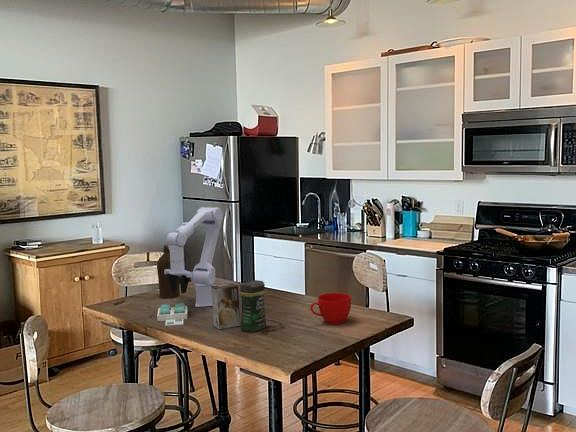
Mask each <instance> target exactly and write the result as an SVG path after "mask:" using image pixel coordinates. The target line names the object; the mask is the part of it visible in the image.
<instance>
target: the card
mask: <svg viewBox="0 0 576 432" xmlns="http://www.w3.org/2000/svg"><path fill="white" fill-rule="evenodd" d="M181 325H183V326H184V319H175V320H166V321H165V325H164V326H165V327H169V326H181Z"/></svg>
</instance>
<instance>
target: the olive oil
mask: <svg viewBox="0 0 576 432" xmlns="http://www.w3.org/2000/svg"><path fill="white" fill-rule="evenodd" d="M166 269H171V264H170V250H169V249H168V245H167V243H166V244H163V253H162V255H161V256H160V257H159V258H158V260H157V262H156V273H157V280H158V281H157V282H158V287H159V288H158V289H159V297H160V298H161V299H165V300H166V299H167V300H168V299H175V298H178V297H180V295H181V287H180V282H179V280H178V278H179V277H180V276H178V278H177V291H175V292H172V290H171V287H170V285H169V282H168V281H167V279H166V276H168V274H165V273H164V270H166Z"/></svg>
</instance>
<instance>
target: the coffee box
mask: <svg viewBox="0 0 576 432" xmlns="http://www.w3.org/2000/svg"><path fill="white" fill-rule="evenodd" d="M215 285H216V286H211V288H212V304H213V306H212V318H213V327H215V328H216V329H219V330H223V329H229V328H235V327H241V310H240V294H239V292H240V290H239V285H238V284H236V283H233V282H232V283H225V284H215Z"/></svg>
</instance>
